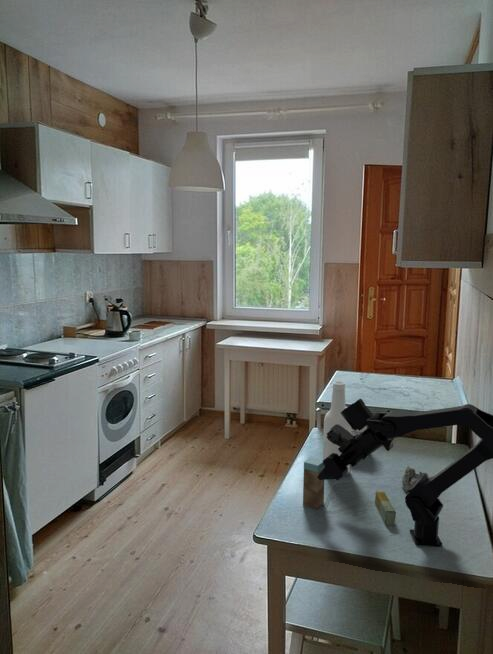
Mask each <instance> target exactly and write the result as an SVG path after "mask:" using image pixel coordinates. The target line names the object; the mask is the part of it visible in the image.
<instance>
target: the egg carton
mask: <svg viewBox="0 0 493 654" xmlns="http://www.w3.org/2000/svg"><path fill="white" fill-rule="evenodd" d="M424 474H426V475H427V477H428V478H430V477H431V473H427V472H422V470H421V471H419V472H416V470H415V468H411V467H410V465H409V466H408V465H407V467H406V468H405V471H404V473H403V475H402V478H401V483H402V489H403V490H404V491H405V492H407V490H408V489H409V487H410V486H411V485H412V483H413V482H414V481H416V480H419V479H420V478H421V477H422V476H423V475H424ZM410 478H411V479H410ZM409 480H410V482H409Z"/></svg>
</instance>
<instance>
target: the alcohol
mask: <svg viewBox="0 0 493 654" xmlns="http://www.w3.org/2000/svg"><path fill="white" fill-rule="evenodd" d="M345 389H346V383H345V382H344V381H333V382H332V394H331V395H332V396H331V403H330V409H329V410H328V411H327V412H326V414H325V415H324V420H323V438H322V439H323V440H322V442H323V443H322V444H323V445H322V446H323V447H322V460H324V459H325V458H327V457H328V456H329V455H331V454H332V453H335V454H338V456H340V455H341V454H342V453H340V451H339V450H338V448H339V447H340V446H338V445H336V444H333V443H332V442H330V441H329V440H328V439H327V433H328V432H329V431H330V429H331V428H332V427H333V426H335V425H336V424H338V425H340V426H342V427H343V428H344V429H346V430H347V431H349V432H350V433H351V426H350V425H349V424H348V422H347V421H346V420H345V419H344V417H343V416H342V415H341V412H342V411H343V410H344V409H345V408H346V407H347V406H346V390H345ZM347 468H348V473H347V474H346V475H345V476H347V475H348V474H349V472H350V471H351V465H348V466H347Z"/></svg>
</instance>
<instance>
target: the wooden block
mask: <svg viewBox="0 0 493 654" xmlns="http://www.w3.org/2000/svg"><path fill="white" fill-rule="evenodd" d="M324 467H325V465H324V464H323V458H322V459H321V458H318V457H313V456H310V457H309V458H308V459H306V460H305V461H303V484H302V485H303V489H302V490H303V492H302V505H303V506H305V507H307V508H311V509H315V510H318V509H319V508H320V507H321V506H322V505H323V504H324V502H325V480H319V479H318V478H317V476H318V475H319V474H320V472H321V471H322V470H323V469H324Z"/></svg>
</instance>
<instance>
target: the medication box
mask: <svg viewBox="0 0 493 654" xmlns="http://www.w3.org/2000/svg"><path fill="white" fill-rule="evenodd" d="M374 504H375V505H374V506H375V507H376V508H377V509H376V510H377V512H378V514H379V516H380V517H381V520H382V522H383V524H384V525H385V526H388V527H389V526H390V527H391V526H395V524H396V515H397V514H396V513H397V512H396V510H395V508H394V507H393V505H392V503H391V501H390V500H389V498H388V496H387V494H386V492H385V491H378V490H377V491H375V496H374Z"/></svg>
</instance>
